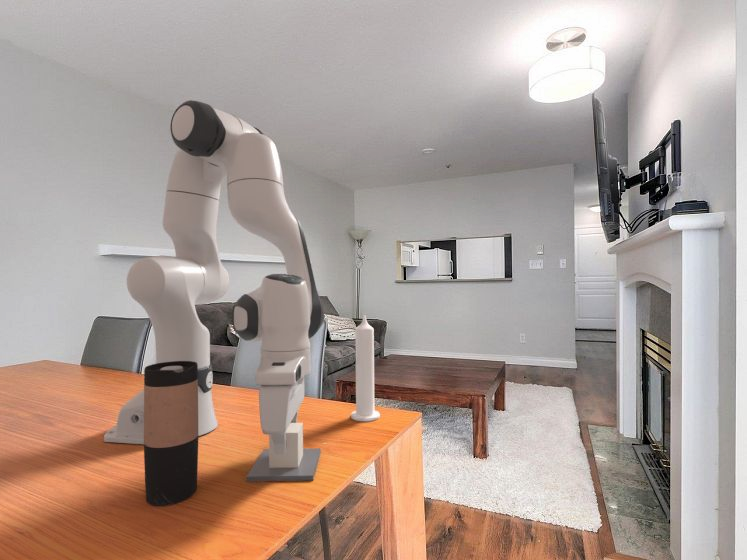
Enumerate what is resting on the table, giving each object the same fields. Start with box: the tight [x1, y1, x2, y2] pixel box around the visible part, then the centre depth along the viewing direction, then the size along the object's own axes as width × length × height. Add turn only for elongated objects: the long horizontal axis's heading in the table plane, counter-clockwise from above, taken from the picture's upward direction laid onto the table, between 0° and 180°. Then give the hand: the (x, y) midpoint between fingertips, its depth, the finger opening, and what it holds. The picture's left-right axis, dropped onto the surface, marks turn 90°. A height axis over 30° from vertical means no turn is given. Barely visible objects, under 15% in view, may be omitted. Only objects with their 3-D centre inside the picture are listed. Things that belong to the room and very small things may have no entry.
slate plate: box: [245, 447, 322, 482], centre depth 71 cm, size 11×11×1 cm
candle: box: [350, 314, 381, 422], centre depth 98 cm, size 7×7×25 cm
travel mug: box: [143, 361, 199, 507], centre depth 62 cm, size 8×8×20 cm
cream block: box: [268, 422, 304, 468], centre depth 71 cm, size 5×5×6 cm
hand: (286, 441), depth 71 cm, fingers open, 8 cm apart
